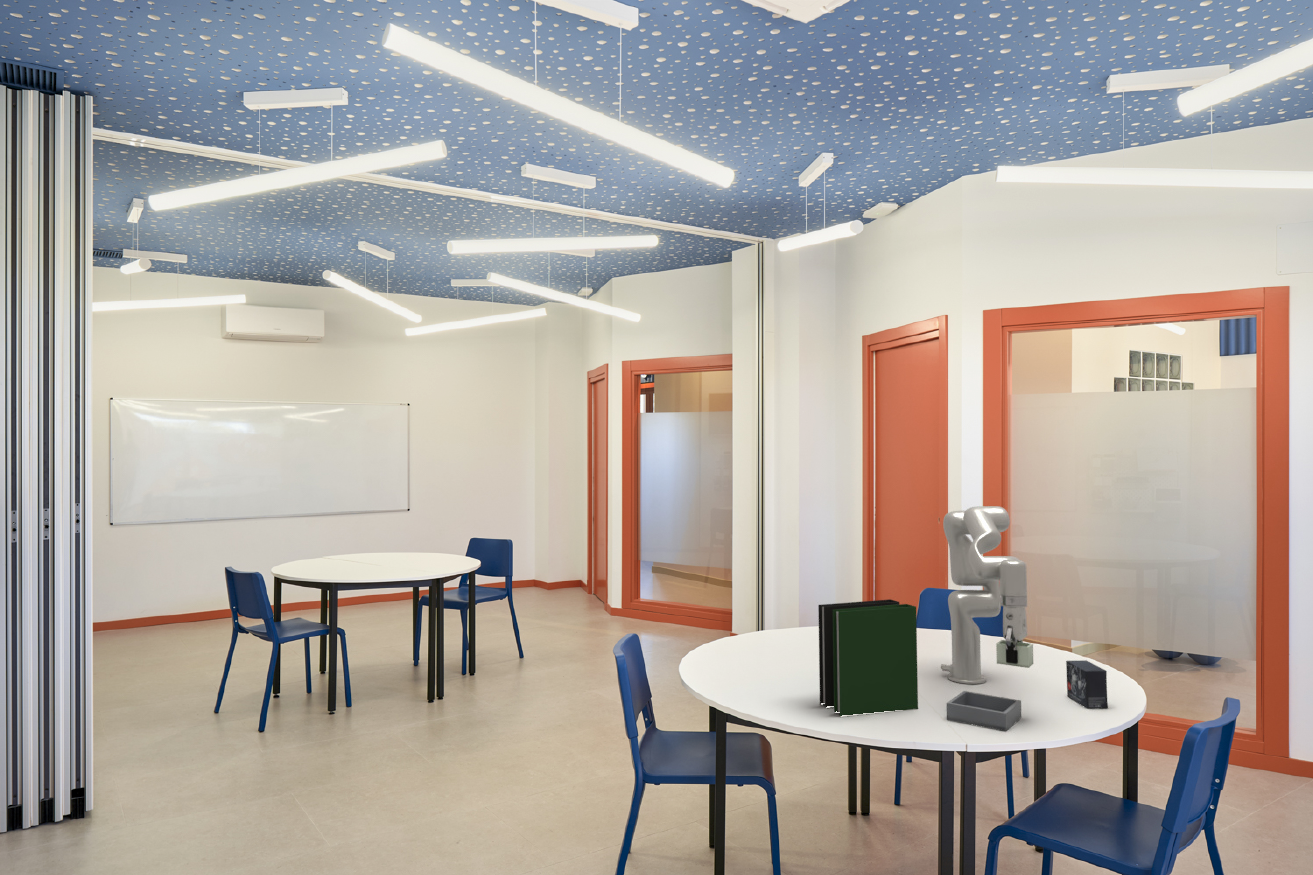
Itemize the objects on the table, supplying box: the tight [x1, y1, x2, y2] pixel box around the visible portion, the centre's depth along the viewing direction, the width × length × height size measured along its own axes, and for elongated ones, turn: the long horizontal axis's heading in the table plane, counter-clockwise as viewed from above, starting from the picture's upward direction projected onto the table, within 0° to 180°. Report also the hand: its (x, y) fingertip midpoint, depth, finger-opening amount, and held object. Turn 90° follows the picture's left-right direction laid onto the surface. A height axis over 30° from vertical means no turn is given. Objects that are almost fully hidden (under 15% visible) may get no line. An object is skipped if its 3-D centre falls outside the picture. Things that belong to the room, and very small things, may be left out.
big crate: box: [946, 690, 1022, 732], centre depth 242 cm, size 17×16×5 cm
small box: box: [1065, 659, 1109, 710], centre depth 257 cm, size 13×7×12 cm, turn 178°
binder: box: [818, 598, 919, 717], centre depth 255 cm, size 27×15×32 cm, turn 107°
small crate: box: [995, 639, 1034, 669], centre depth 242 cm, size 9×6×6 cm, turn 53°
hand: (1014, 660), depth 242 cm, fingers closed on small crate, 6 cm apart
